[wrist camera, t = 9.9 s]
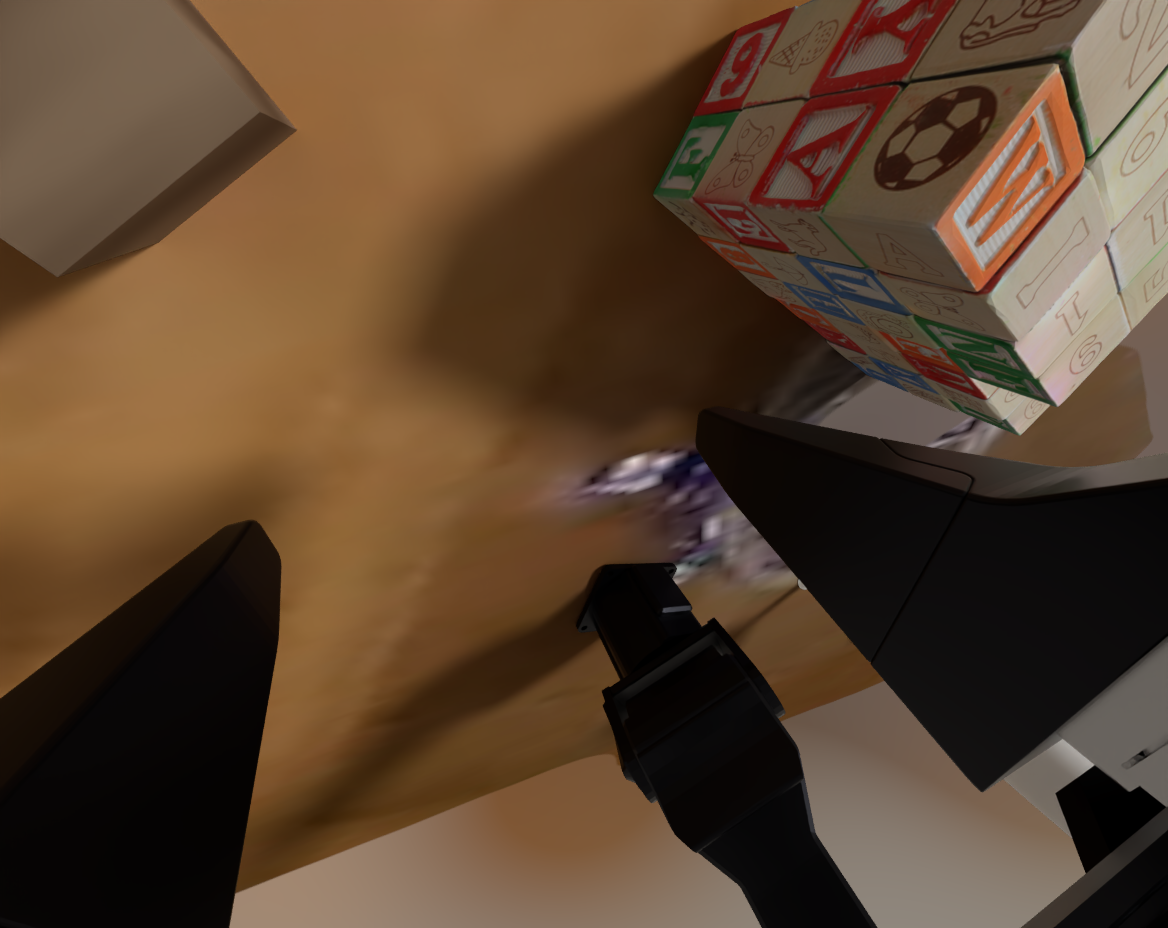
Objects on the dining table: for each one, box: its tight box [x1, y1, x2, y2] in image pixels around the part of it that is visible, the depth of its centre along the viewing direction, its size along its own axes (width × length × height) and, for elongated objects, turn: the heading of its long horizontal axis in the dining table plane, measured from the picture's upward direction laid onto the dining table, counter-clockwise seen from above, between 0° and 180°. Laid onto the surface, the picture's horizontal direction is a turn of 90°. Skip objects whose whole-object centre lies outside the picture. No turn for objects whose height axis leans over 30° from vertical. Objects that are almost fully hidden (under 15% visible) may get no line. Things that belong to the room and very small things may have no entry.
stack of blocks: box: [653, 0, 1168, 435], centre depth 18 cm, size 21×6×12 cm, turn 60°
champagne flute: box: [798, 579, 1094, 838], centre depth 34 cm, size 7×7×24 cm
